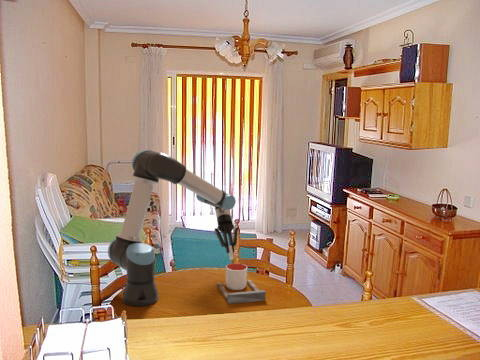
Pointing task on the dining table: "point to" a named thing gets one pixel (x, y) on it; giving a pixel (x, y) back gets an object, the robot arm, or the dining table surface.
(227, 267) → the cup
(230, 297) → the grey tray
